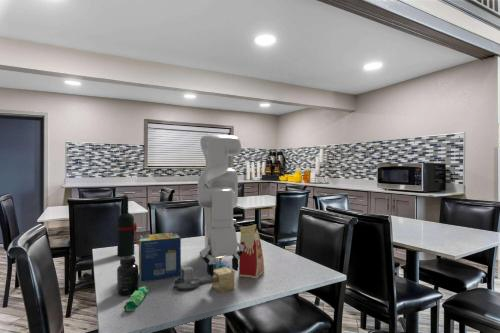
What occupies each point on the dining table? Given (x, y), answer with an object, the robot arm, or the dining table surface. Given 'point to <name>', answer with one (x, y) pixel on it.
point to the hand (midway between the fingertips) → (223, 272)
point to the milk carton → (251, 253)
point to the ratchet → (189, 280)
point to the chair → (219, 263)
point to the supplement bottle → (127, 276)
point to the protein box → (159, 256)
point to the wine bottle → (126, 231)
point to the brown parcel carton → (223, 280)
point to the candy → (136, 298)
